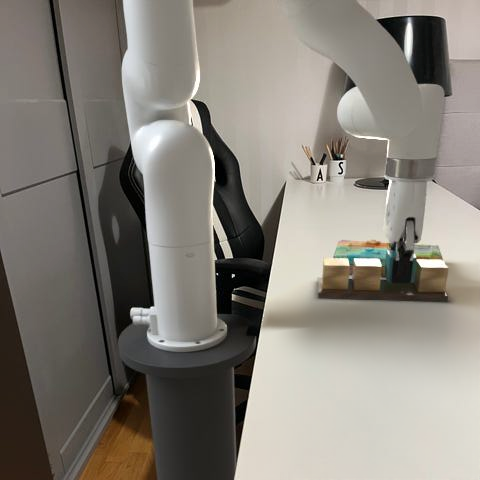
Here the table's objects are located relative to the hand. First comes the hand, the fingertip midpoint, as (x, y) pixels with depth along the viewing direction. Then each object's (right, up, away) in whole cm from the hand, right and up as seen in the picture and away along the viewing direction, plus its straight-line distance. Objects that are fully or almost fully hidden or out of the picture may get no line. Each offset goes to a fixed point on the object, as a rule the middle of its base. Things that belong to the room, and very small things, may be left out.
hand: (398, 276), depth 87 cm
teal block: (0, 0, 0) cm, 0 cm away
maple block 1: (-11, -1, +2) cm, 11 cm away
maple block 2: (-5, -2, +1) cm, 6 cm away
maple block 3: (+5, -2, 0) cm, 6 cm away
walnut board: (-3, -3, +2) cm, 4 cm away
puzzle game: (+2, +2, +13) cm, 13 cm away
